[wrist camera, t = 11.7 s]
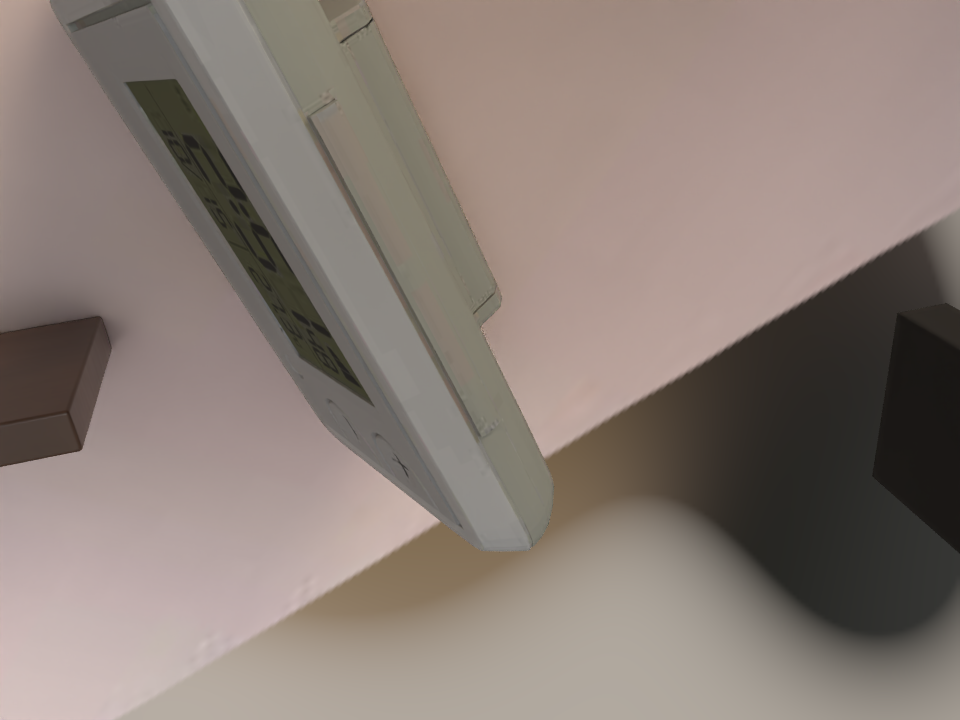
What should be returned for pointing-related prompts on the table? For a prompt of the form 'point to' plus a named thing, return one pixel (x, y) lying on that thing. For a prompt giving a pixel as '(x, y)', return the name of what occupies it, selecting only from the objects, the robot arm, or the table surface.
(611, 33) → the table surface
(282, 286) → the digital clock
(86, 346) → the walnut rack
